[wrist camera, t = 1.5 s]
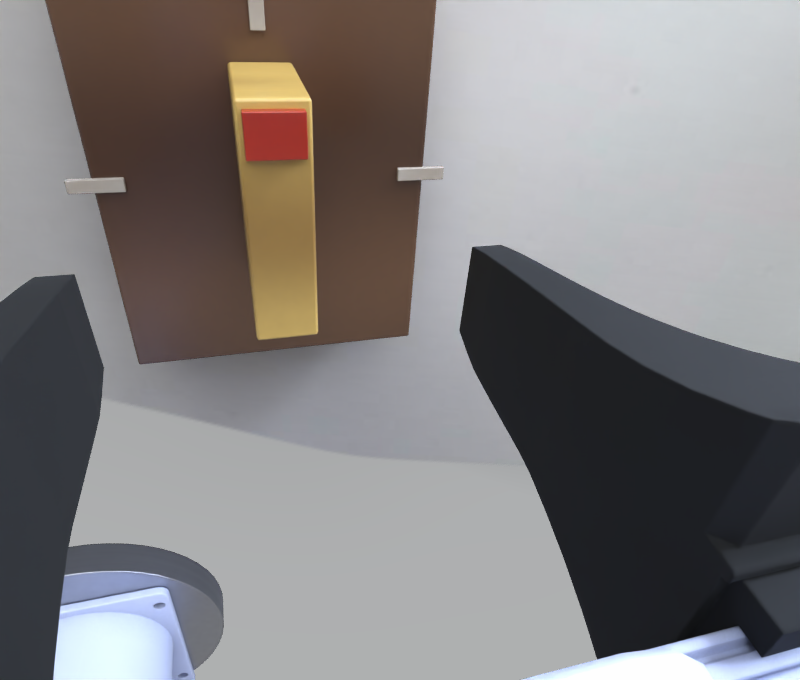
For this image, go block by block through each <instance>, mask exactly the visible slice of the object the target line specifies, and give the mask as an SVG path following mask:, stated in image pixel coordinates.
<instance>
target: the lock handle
mask: <svg viewBox="0 0 800 680" xmlns="http://www.w3.org/2000/svg"><path fill="white" fill-rule="evenodd" d="M227 70H228V79H229V89H230V98H231V108H232V117H233V127H234V136H235V146H236V155H237V165H238V174H239V184H240V193H241V203H242V212H243V222H244V231H245V241H246V250H247V260H248V269H249V278H250V286H251V295H252V303H253V311H254V320H255V328H256V336H257V339H258V340H267V339H277V338H287V337H296V336H306V335H315V334H317V333H318V304H317V267H316V231H315V194H314V158H313V121H312V100H311V98H310V96H309V94H308V92H307V91H306V89H305V87H304V85H303V83H302V81H301V80H300V78H299V76H298V74H297V72H296V70H295V68H294V67H293V65H292V64H291V63H280V62H229V63H228V65H227Z"/></svg>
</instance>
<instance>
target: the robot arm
mask: <svg viewBox="0 0 800 680" xmlns="http://www.w3.org/2000/svg"><path fill="white" fill-rule="evenodd" d="M460 333H461V336H462V339H463V342H464V345H465V348H466V351H467V353H468V356H469V358H470V361H471V364H472V366H473V369H474V371H475V373H476V375H477V377H478V379H479V380H480V382H481V384H482V386H483V388H484V390H485V391H486V393H487V395H488V397H489V399H490V401H491V402H492V404H493V406H494V408H495V409H496V411H497V413H498V415H499V417H500V418H501V420H502V422H503V424H504V426H505V427H506V429H507V431H508V433H509V435H510V436H511V438H512V440H513V442H514V443H515V445H516V447H517V449H518V451H519V452H520V454H521V456H522V458H523V460H524V462H525V464H526V466H527V468H528V470H529V472H530V475H531V477H532V480H533V482H534V484H535V486H536V489H537V492H538V494H539V496H540V499H541V501H542V504H543V506H544V508H545V511H546V513H547V516H548V518H549V521H550V523H551V526H552V529H553V531H554V534H555V537H556V539H557V542H558V544H559V547H560V550H561V552H562V555H563V557H564V560H565V563H566V566H567V569H568V572H569V575H570V577H571V580H572V583H573V586H574V589H575V592H576V594H577V597H578V600H579V603H580V606H581V609H582V612H583V615H584V618H585V622H586V625H587V628H588V631H589V634H590V638H591V641H592V644H593V647H594V650H595V654H596V657H597V660H594V661H590V662H586V663H582V664H578V665H575V666H571V667H567V668H563V669H559V670H556V671H552V672H548V673H544V674H540V675H537V676H533V677H529V678H525V679H522V680H800V363H798V362H794V361H789V360H785V359H780V358H776V357H772V356H768V355H764V354H760V353H756V352H752V351H748V350H745V349H741V348H738V347H734V346H731V345H728V344H724V343H721V342H718V341H714V340H711V339H708V338H705V337H702V336H699V335H696V334H693V333H690V332H687V331H684V330H681V329H679V328H676V327H673V326H671V325H668V324H665V323H663V322H660V321H658V320H655V319H652V318H650V317H647V316H645V315H643V314H640V313H638V312H635V311H633V310H631V309H629V308H627V307H624V306H622V305H620V304H618V303H616V302H614V301H612V300H609V299H607V298H605V297H603V296H601V295H599V294H597V293H595V292H593V291H591V290H589V289H587V288H585V287H583V286H581V285H579V284H577V283H575V282H574V281H572V280H570V279H568V278H566V277H564V276H562V275H560V274H559V273H557V272H555V271H553V270H551V269H549V268H547V267H545V266H544V265H542V264H540V263H538V262H536V261H534V260H532V259H530V258H528V257H526V256H525V255H523V254H521V253H518V252H516V251H514V250H512V249H510V248H507V247H505V246H502V245H495V246H480V247H472V253H471V259H470V266H469V272H468V279H467V285H466V292H465V298H464V305H463V311H462V318H461V324H460ZM103 371H104V367H103V364H102V361H101V357H100V354H99V351H98V348H97V345H96V341H95V338H94V335H93V332H92V329H91V326H90V322H89V319H88V316H87V313H86V310H85V307H84V303H83V300H82V297H81V294H80V291H79V287H78V284H77V281H76V278H75V275H59V276H45V277H34V278H33V279H31V280H29V281H28V282H26V283H25V284H24V285H22V286H21V287H19V288H18V289H17V290H15V291H14V292H13V293H12V294H10V295H9V296H8V297H6V298H5V299H4V300H3V301H1V302H0V680H195V673H194V670H193V667H192V663H191V660H190V657H189V654H188V651H187V647H186V644H185V641H184V638H183V634H182V631H181V628H180V625H179V621H178V618H177V615H176V612H175V609H174V605H173V602H172V599H171V596H170V592H169V590H168V589H167V588H164V587H154V588H149V589H144V590H139V591H134V592H129V593H124V594H119V595H113V596H108V597H103V598H98V599H93V600H88V601H83V602H78V603H73V604H68V605H62V606H61V599H62V591H63V583H64V575H65V567H66V559H67V551H68V546H69V541H70V536H71V531H72V526H73V522H74V518H75V514H76V510H77V506H78V502H79V498H80V494H81V490H82V486H83V482H84V478H85V474H86V470H87V466H88V461H89V458H90V454H91V450H92V446H93V442H94V438H95V434H96V430H97V425H98V421H99V416H100V408H101V398H102V385H103Z"/></svg>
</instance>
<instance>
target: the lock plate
mask: <svg viewBox="0 0 800 680" xmlns="http://www.w3.org/2000/svg"><path fill="white" fill-rule="evenodd" d="M45 1H46V5H47V9H48V13H49V17H50V21H51V24H52V28H53V32H54V36H55V40H56V44H57V48H58V52H59V55H60V59H61V63H62V67H63V71H64V75H65V79H66V83H67V86H68V90H69V94H70V98H71V102H72V106H73V110H74V114H75V117H76V121H77V125H78V129H79V133H80V137H81V141H82V145H83V148H84V152H85V156H86V160H87V164H88V168H89V172H90V176H91V178H84V179H65V181H64V183H65V186H66V190H67V193H68V194H91V193H95V195H96V199H97V203H98V207H99V210H100V214H101V218H102V222H103V226H104V230H105V234H106V238H107V241H108V245H109V249H110V253H111V257H112V261H113V265H114V269H115V272H116V276H117V280H118V284H119V288H120V292H121V296H122V300H123V303H124V307H125V311H126V315H127V319H128V323H129V327H130V331H131V334H132V338H133V342H134V346H135V350H136V354H137V358H138V362H139V364H149V363H158V362H167V361H176V360H186V359H195V358H204V357H213V356H223V355H232V354H241V353H250V352H260V351H269V350H278V349H287V348H297V347H306V346H315V345H324V344H334V343H343V342H352V341H361V340H371V339H380V338H389V337H398V336H407V335H408V333H409V322H410V310H411V298H412V286H413V274H414V262H415V250H416V238H417V226H418V214H419V202H420V190H421V180H435V179H443V170H444V168H443V166H429V167H422V166H423V154H424V142H425V130H426V118H427V106H428V94H429V83H430V71H431V59H432V47H433V35H434V23H435V11H436V0H45ZM229 62H280V63H291V64H292V65H293V67H294V68H295V70H296V72H297V74H298V76H299V78H300V80H301V81H302V83H303V85H304V87H305V89H306V91H307V92H308V94H309V96H310V98H311V100H312V121H313V158H314V194H315V231H316V267H317V304H318V333H317V334H315V335H306V336H296V337H287V338H277V339H267V340H258V339H257V336H256V328H255V320H254V311H253V303H252V295H251V286H250V278H249V269H248V260H247V250H246V241H245V231H244V222H243V212H242V203H241V193H240V184H239V174H238V165H237V155H236V146H235V136H234V127H233V117H232V108H231V98H230V89H229V79H228V70H227V65H228V63H229Z"/></svg>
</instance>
